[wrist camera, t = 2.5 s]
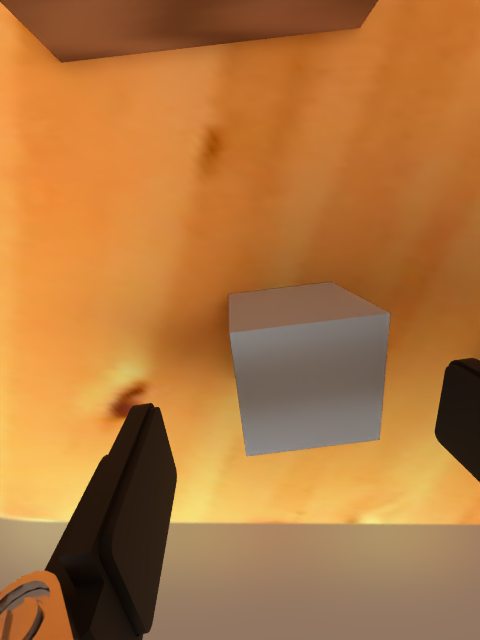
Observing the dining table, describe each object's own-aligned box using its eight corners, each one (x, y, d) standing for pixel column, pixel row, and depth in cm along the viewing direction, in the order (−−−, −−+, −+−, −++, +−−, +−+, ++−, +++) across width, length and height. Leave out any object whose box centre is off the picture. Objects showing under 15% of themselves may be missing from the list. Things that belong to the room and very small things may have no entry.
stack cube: (330, 281, 14) (390, 313, 9) (330, 370, 16) (379, 439, 11) (228, 293, 14) (229, 332, 9) (240, 381, 16) (246, 456, 11)
